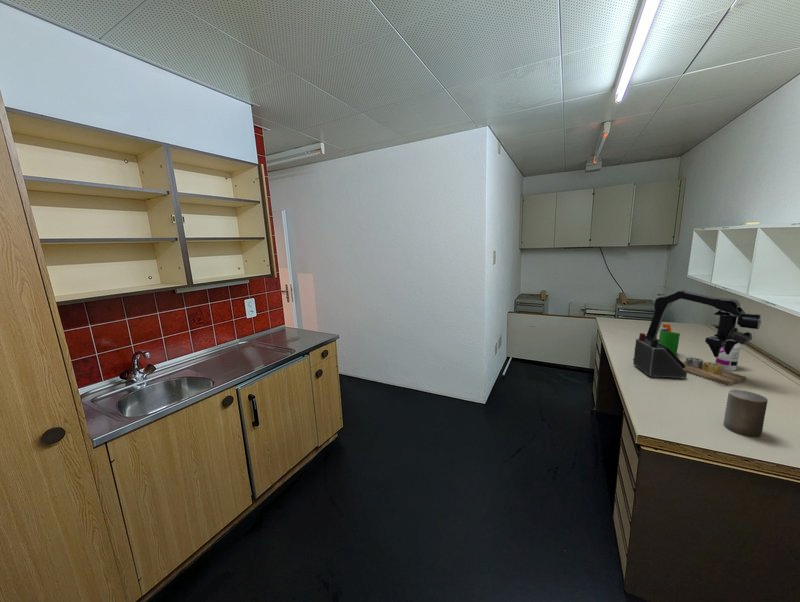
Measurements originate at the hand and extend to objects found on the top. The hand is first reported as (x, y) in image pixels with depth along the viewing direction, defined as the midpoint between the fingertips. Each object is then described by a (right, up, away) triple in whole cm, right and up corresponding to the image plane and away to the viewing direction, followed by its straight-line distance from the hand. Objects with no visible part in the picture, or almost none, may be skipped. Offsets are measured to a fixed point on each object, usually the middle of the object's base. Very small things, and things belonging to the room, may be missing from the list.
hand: (721, 355), depth 151 cm
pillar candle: (-31, -21, -37) cm, 52 cm away
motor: (+4, -7, +36) cm, 37 cm away
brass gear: (+4, -10, +9) cm, 14 cm away
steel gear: (+2, -9, +16) cm, 18 cm away
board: (+3, -11, +10) cm, 16 cm away
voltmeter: (-20, -12, +13) cm, 27 cm away
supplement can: (+19, -10, +16) cm, 27 cm away
